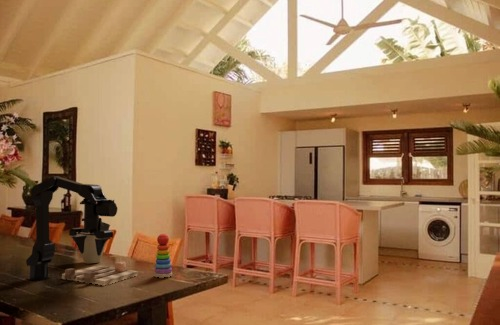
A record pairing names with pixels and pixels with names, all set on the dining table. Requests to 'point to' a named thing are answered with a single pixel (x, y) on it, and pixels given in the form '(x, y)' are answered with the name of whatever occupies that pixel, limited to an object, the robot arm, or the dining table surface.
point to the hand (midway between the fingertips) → (90, 254)
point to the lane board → (104, 280)
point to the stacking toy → (163, 258)
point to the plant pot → (91, 250)
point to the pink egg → (120, 266)
